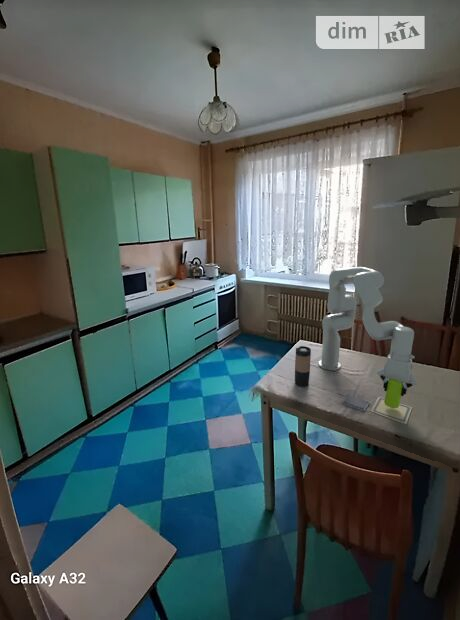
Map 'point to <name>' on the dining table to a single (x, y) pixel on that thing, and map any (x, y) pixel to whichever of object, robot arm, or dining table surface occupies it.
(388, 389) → the soap dispenser
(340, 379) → the dining table surface
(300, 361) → the travel mug
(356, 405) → the ink pad
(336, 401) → the dining table surface
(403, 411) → the card sheet
